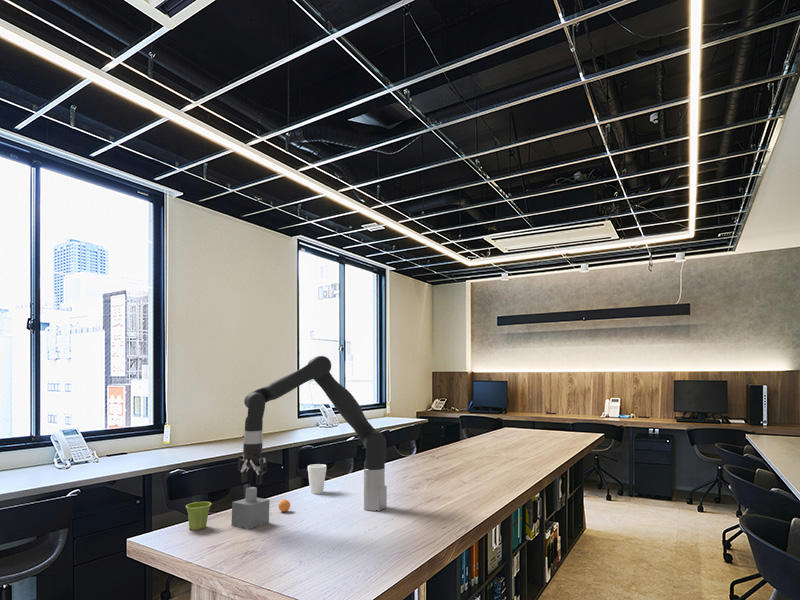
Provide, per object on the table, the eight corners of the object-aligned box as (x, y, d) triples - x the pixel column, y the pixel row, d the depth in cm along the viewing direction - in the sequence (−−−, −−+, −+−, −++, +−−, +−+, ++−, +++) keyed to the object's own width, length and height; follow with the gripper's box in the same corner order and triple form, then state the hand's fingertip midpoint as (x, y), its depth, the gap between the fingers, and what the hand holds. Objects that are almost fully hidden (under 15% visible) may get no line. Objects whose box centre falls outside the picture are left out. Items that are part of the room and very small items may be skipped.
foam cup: (322, 495, 248) (322, 467, 250) (304, 494, 250) (304, 467, 252) (328, 490, 258) (328, 464, 260) (311, 490, 260) (311, 463, 261)
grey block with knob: (268, 522, 204) (269, 486, 206) (249, 529, 195) (250, 492, 197) (251, 518, 209) (252, 484, 211) (231, 525, 201) (232, 489, 202)
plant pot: (206, 531, 193) (207, 507, 195) (181, 532, 193) (182, 508, 194) (213, 523, 203) (214, 501, 204) (189, 524, 202) (190, 502, 203)
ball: (292, 511, 220) (292, 499, 221) (284, 513, 216) (284, 501, 217) (284, 509, 223) (284, 497, 224) (275, 512, 219) (276, 500, 219)
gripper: (272, 442, 206) (271, 483, 204) (248, 439, 214) (246, 479, 211) (258, 444, 200) (256, 487, 198) (233, 441, 207) (232, 482, 205)
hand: (251, 483), depth 204 cm, fingers open, 8 cm apart
